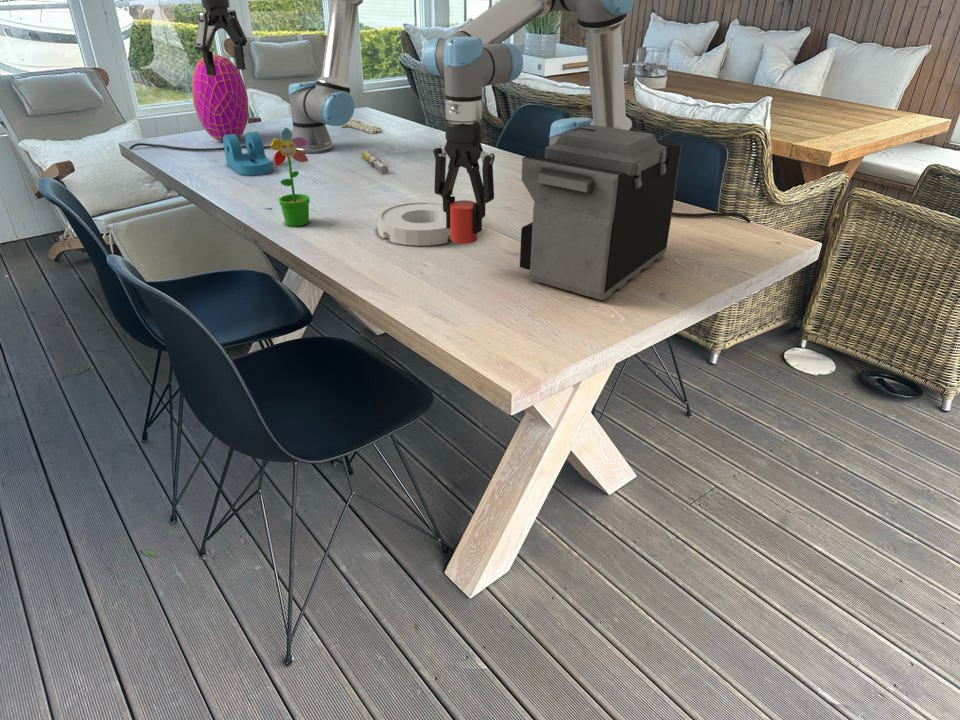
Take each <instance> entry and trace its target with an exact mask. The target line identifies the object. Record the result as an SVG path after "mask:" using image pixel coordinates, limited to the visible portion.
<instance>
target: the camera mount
mask: <svg viewBox="0 0 960 720" xmlns="http://www.w3.org/2000/svg"><path fill="white" fill-rule="evenodd" d="M222 143H223V148H224V150H223V151H224V156H225V161H226V165H227V166H228V167H230V168H231V169H232V170H234V171H236V172H237V173H238V174H239V175H244V176H260V175H265V174H268V173H271V172H272V164H271V159H270V158H268V157H267V156H266V153H265V148H264V146H265V145H264V141H263V139H262V136H261V134H260V132H258V131H247V132H246V133H245V146H246V147H247V148H246V152H243V151H242V150H243V149H242V148H241V146H242V145H241V142H240V140H239V138H237V136H236V135H235V134H230V135H224V137H223V141H222Z"/></svg>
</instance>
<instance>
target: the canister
mask: <svg viewBox="0 0 960 720" xmlns="http://www.w3.org/2000/svg"><path fill="white" fill-rule="evenodd" d="M475 203H476V201H474V200H467V199H466V200H465V199H463V200H462V199H460V200H455V201H454V202H452V203H451V204H450V235H451V240H450V241H451V242H453V243H455V244H460V245H461V244H463V245H467V244H468V245H469V244H473V243H475V242H477V241H478V237H479V236H478V234H479V232H478V233H477V234H473V204H475Z"/></svg>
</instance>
